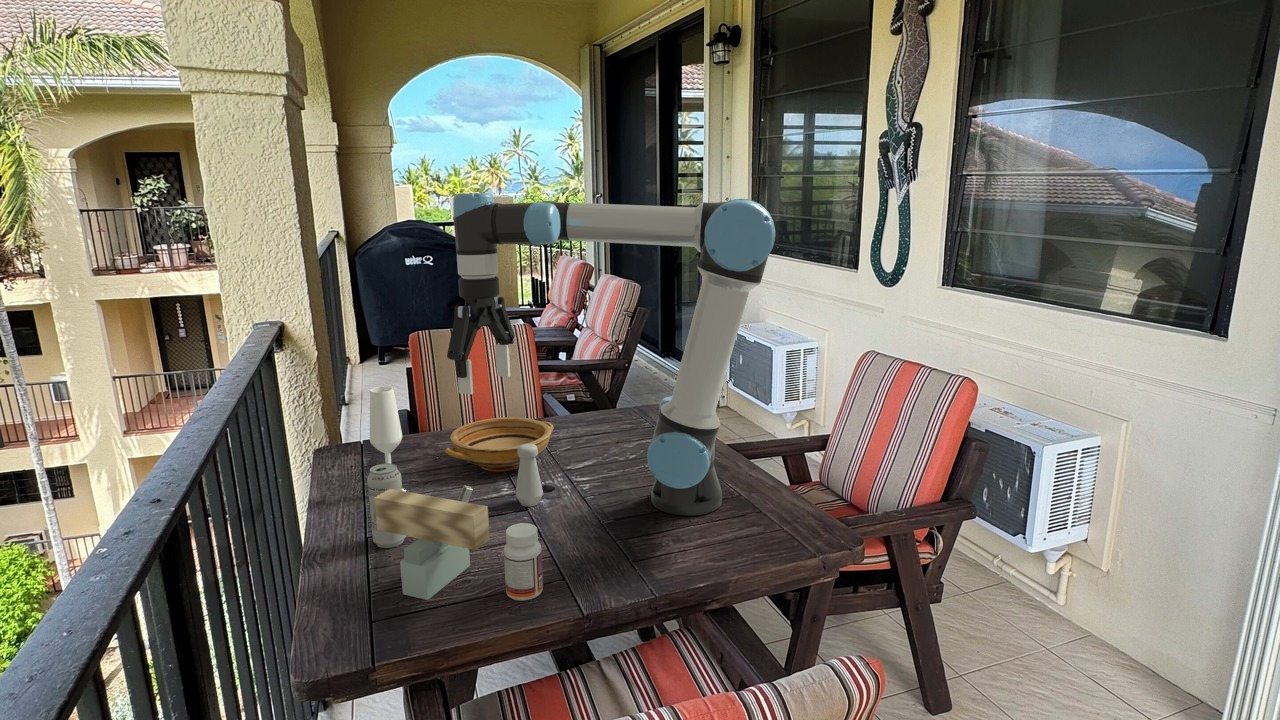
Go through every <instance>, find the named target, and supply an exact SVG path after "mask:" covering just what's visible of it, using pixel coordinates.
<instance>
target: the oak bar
mask: <svg viewBox="0 0 1280 720" xmlns="http://www.w3.org/2000/svg"><path fill="white" fill-rule="evenodd" d="M374 500H375V510H376V521H377V530H380V531H385V532H390V533H394V534H399V535H404V536H406V537H409V538H415V539H423V540H428V541H433V542H438V543H443V544H448V545H453V546H457V547H462V548H467V549H469V550H473V551H477V550H478V549H479V548H481V547H482V546H483V545H484V544H486V543H487V542H488V541H490V539H491V538H490V526H489V525H490V524H489V521H490V520H489V508H488V506H487V505H483V504H477V503H471V502H468V503H467V502H461V501H458V500H455V499H451V498H449V499H448V498H444V497H438V496H433V495H427V494H421V493H417V492H416V493H414V492H410V491H407V492H405V491H400V490H394V489H389V490H387V491H385V492H384V493H382V494H380V495H378V496H376V497H375V498H374Z"/></svg>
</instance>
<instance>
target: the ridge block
mask: <svg viewBox="0 0 1280 720" xmlns="http://www.w3.org/2000/svg"><path fill="white" fill-rule="evenodd" d="M470 555H471V554H470V549H467V548H462V547H457V546H453V545H448V544H443V543H438V542H433V541H428V540H423V539H419V538H417V539H416V540H415V541H414V542H413V541H412V543H411V544H409V545H408V546H406V547H405V548H403V557H404V558H403V559H401V560H400V561H399V564H400V567H399V569H400V577H401V578H400V579H401V585H402V586H401V589H402V595H405V596H409V597H414V598H416V599H417V598H418V599H420V600H421V599H422V600H424V601H425V600H426V601H428V600H430V599H431V598H433V597H434V596H435V595H436V594H438V592H440V591H441V590H442V589H443V588H444V587H446V586H447V585H448V584H450V583H451V582H452V581H453V580H455V579H456V578H457V577H458V576H459V575H461V574H462V573H463V572H465V571H466V570H467V569H468V568H469V567H471V558H470Z"/></svg>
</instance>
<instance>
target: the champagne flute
mask: <svg viewBox="0 0 1280 720" xmlns="http://www.w3.org/2000/svg"><path fill="white" fill-rule="evenodd" d="M402 439H403V432H402V427H401V420H400V417H399V410H398V405H397V400H396V394H395V390H394V387H393V386H377V387H373V388H370V389H369V442H370V444H371V446H373V447H374V448H375V449H376V450H377V451H379V452H381V453H384V459H385V461H384V462H385V464H386V463H390V464H392V457H391V453H392V452H393V451H394V450H395V449H397V447H398V446H400V443H401V442H402ZM404 489H405V488H403V487H402V491H405V492H406V491H407V490H406V489H405V490H404Z"/></svg>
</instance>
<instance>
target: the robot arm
mask: <svg viewBox="0 0 1280 720" xmlns="http://www.w3.org/2000/svg"><path fill="white" fill-rule="evenodd" d="M452 203H453V205H452V206H453V207H452V209H453V212H452V214H453V216H452V221H453V228H454V237H455V238H454V240H455V249H456V250H455V251H456V253H455V254H456V262H457V266H456V267H457V274H458V276H460V278H459V279H458V280H457V282H458V293H459V294H458V295H459V297H460V298H462V299H463V300H464V301H465V302H464V306H463V305H461V306H459V305H455V307H454V311H453V313H454V314H453V315H454V316H453V317H454V319H453V325H452V330H451V332H450V333H451V334H450V338H449V339H450V340H449V344H448V349H447V355H446V357H447V359H448V360H452V361H455V368H456V369H455V370H456V377H457V387H458V394H464V395H473V394H474V383H473V371H472V369H473V368H472V360H471V359H469V356H470V355H471V354H470V353H471V351H472V348H473V345H474V342H475V340H476V336H477V334H478V331H479V330H481V329H482V327H484V326H485V325H486V327H487V328H488V329H489V332H490V333H491V335H492V336H493V337H494V338H493V339H495V341H496V342H497V344H494V349H495V350H494V352H495V366H496V367H495V368H496V369H495V370H496V376H497V377H505V378H509V377H511V367H510V366H511V365H510V364H511V363H510V348H509V345H513V344H514V339H515V336H516V335H515V332H514V329H513V327H512V323H511V321H510V318H509V315H508V311H507V309H506V304H505V299H504V297H503V296H499V295H500V279H499V277H498V276H497V275H498V274H499V262H498V260H499V259H498V249H497V248H498V247H497V245H535V246H542V245H552V244H555V243H556V242H557V241H564V242H565V241H566V242H570V241H573V242H574V241H576V242H591V243H610V244H611V243H613V244H632V245H633V244H634V245H635V244H636V245H652V246H653V245H654V246H670V247H671V246H673V247H677V246H678V247H693V248H695V249H696V250H697V252H698V253H700V256H699V260H698V263H697V270H698V271H699V273H700V274H701V277H702V282H701V284H700V285H701V286H700V290H699V293H698V296H697V300H696V304H695V308H694V312H693V314H692V315H693V316H692V320H691V323H690V326H689V327H690V328H689V330H688V334H687V338H686V342H685V346H684V350H683V354H682V358H681V362H680V366H679V369H678V373H677V376H676V379H675V380H676V381H675V384H674V388H673V391H672V395H670V396H666V397H663V398H661V400H660V402H659V408H658V412H659V413H658V417H657V420H656V425H655V428H654V431H653V435H652V440H651V442H650V443H649V445H648V447H647V449H646V450H647V451H646V456H647V457H646V458H647V459H646V461H647V466H648V469H649V471H650V473H651V474H652V475H653V477H654V481H653V483H652V484H653V485H652V487H651V491H650V492H651V493H650V494H651V495H650V497H651V500H650V501H651V505H653V506H654V508H656V509H658V510H660V511H662V512H664V513H667V514H671V515H676V516H685V517H686V516H687V517H688V516H700V515H705V514H710V513H712V512H714V511H716V510H717V509H719V508H720V507H721V506H722V502H723V492H722V488H721V485H720V481H719V477H718V476H717V472H716V469H715V454H716V453H715V448H716V447H715V445H716V439H717V436H718V433H719V428H720V425H721V419H719V417H718V415H717V411H716V410H717V407H718V404H719V400H720V397H721V396H720V395H721V392H722V390H723V389H722V388H723V385H724V382H725V379H726V374H727V371H728V368H729V364H730V361H731V357H732V354H733V350H734V348H735V347H734V346H735V343H736V341H737V340H736V339H737V336H738V332H739V328H740V326H741V322H742V319H743V315H744V311H745V307H746V305H747V301H748V297H749V293H750V291H751V290H753V289H754V288H755V287H758V286H759V285H761V282H762V281H763V276H764V272H765V268H766V265H767V262H768V258H769V255H770V254H771V252H772V251H773V248H774V245H775V241H776V227H775V223H774V220H773V217H772V216H771V214H770V212H769V211H768V210H767V209H766V208H765V207H764V206H763V205H761V204H760V203H759V202H756V201H755V200H752V199H748V198H735V199H730V200H728V201H719V202H718V201H717V202H700V204H698V205H697V206H696V207H693V206H691V207H690V206H669V205H668V206H667V205H665V206H664V205H663V206H661V205H641V204H639V205H638V204H637V205H636V204H615V203H614V204H613V203H611V204H610V203H589V202H588V203H586V202H582V203H581V202H561V201H560V202H559V201H554V200H544V201H541V202H520V203H519V202H518V203H517V202H514V203H498V202H497V203H496V201H495V199H494V195H493V194H492V193H490V192H474V193H473V192H467V193H465V192H464V193H462V192H461V193H460V192H459V193H457V194H456V195H454V197H453V202H452Z"/></svg>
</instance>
